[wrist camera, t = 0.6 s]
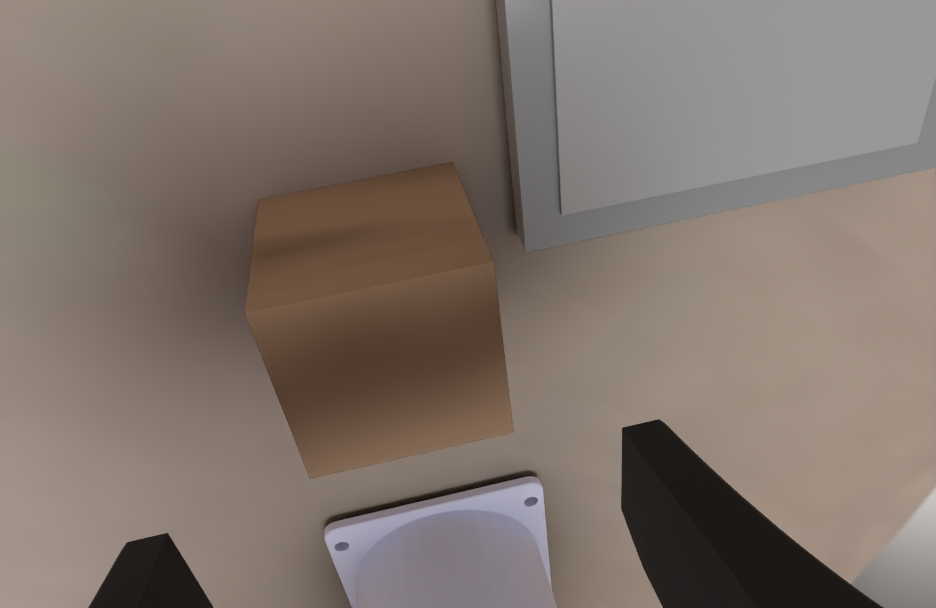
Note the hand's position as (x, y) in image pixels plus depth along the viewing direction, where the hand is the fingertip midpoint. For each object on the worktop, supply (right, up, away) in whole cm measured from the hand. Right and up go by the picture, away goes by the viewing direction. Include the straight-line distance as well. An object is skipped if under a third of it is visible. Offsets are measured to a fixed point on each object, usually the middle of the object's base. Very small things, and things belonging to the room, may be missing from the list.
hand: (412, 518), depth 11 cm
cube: (-2, +5, +8) cm, 10 cm away
